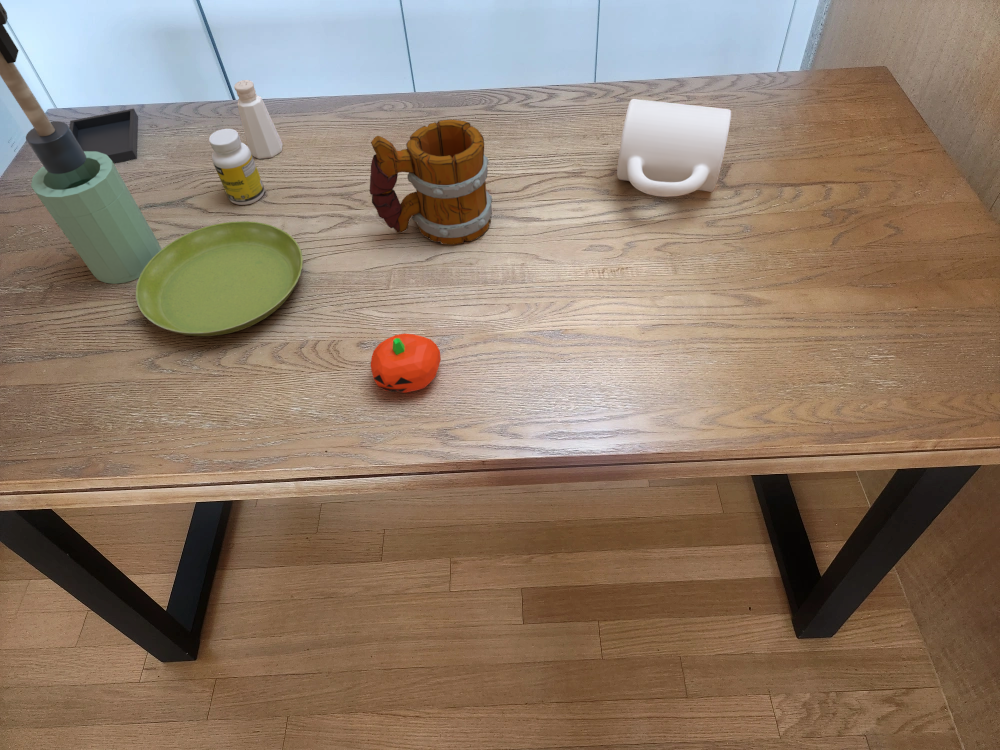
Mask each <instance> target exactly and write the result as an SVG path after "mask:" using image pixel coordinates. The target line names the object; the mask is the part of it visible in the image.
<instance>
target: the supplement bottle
mask: <svg viewBox="0 0 1000 750" xmlns="http://www.w3.org/2000/svg"><path fill="white" fill-rule="evenodd" d="M208 141H209V144H210V146H211V149H212V153H211V161H212V164H213V167H214V168H215V170H216V174H217V175H218V178H219V180H220V182H221V185H222V186H223V187H222V188H223V189H224V191H225V194H226V196H227V198H228V199H229V201H230V202H231V203H233V204H235V205H240V206H244V205H245V206H247V205H250V204H254V203H256V202H258V201H259V200H260V199H262V198H263V196H264V194H265V186H264V183H263V180H262V178H261V175H260V173H259V170H258V167H257V164H256V162H255V160H254V156H252V154H251V151H250V149H249V148H248V145H247V144H245V143H244V142H242V140H241V137H240V134H239V132H238V131H237V130H235V129H233V128H221V129H218V130H215V131H214V132H212V133H211V134H210V135H209V138H208Z"/></svg>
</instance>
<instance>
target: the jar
mask: <svg viewBox="0 0 1000 750" xmlns="http://www.w3.org/2000/svg"><path fill="white" fill-rule="evenodd" d="M84 153H85V155H86V161H85V163H84V164H83V165H82V166H80V167H79V168H77V169H75V170H73V171H71V172H67V173H63V174H52V173H50V172H48V171H47V170H46V169H45V167H44V166H43V165H42V166H41V167H40V168H39V169H37V172H35V174H34V175H33V176H32V177H31V182H30V187H31V188H32V190H33V192H34V194H35V195H36V196H37V197H38V199H39V200H40V201H41V203H42V205H43V206H44V207H45V208H46V210H47V211H48V213H49V214H50V216H51V218H52V219H53V221H55V223H56V224H57V226H58V227H59V228H60V230H61V231H62V233H63V234H64V236H65V237H66V238H67V240H68V241H69V243H70V245H71V246H72V247H73V248H74V250H75V252H77V254H78V255H79V257H80V258H81V259H82V261H83V262H84V264H85V266H86V267H87V269H89V271H90V272H91V274H92V275H93V277H94V278H95V279H96V280H97V281H100V282H103V283H105V284H110V285H112V284H113V285H114V284H115V285H118V284H125V283H129V282H133V281H135V280H138V279H139V277H140V274H141V273H142V271H143V269H144V268H145V266H146V265H147V264H148V262H149V261H150V260H151V259H152V258H153V257H154V256H155V255H156V254H157V253H158V252H159V251H160V250H162V249H163V248H162V247H161V245H160V242H159V240H158V239H157V236H156V235H155V233H154V231H153V230H152V228H151V226H150V224H149V223H148V221H147V219H146V217H145V215H144V214H143V212H142V211H141V209H140V207H139V205H138V203H137V202H136V200H135V198H134V197H133V195H132V192H131V191H130V189H129V188H128V186H127V184H126V182H125V181H124V178H123V177H122V176H121V174H120V172H119V170H118V169H117V167H116V165H115V164H114V163H113V162H112V160H111V159H110V158H109V157H108V156H107V155H106V154H103V153H100V152H96V151H84Z"/></svg>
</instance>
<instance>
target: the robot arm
mask: <svg viewBox="0 0 1000 750" xmlns="http://www.w3.org/2000/svg"><path fill="white" fill-rule="evenodd" d="M8 18H9V17H8V13H7V11H6V9H5V7H4V5H3V4H2V2H0V52H1V54H2V55H3V57H4V59H5V60H6V62H7V63H14V64H15V63H16V62H17V58H18V55H19V51H20V50H19V49H18V47H17V45H16V44H15V42H14V40H13V39H12V37H11V36H10V33H9V32H8V31H7V29H6V27H5V26H4V25H6V24H7V22H8Z"/></svg>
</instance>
